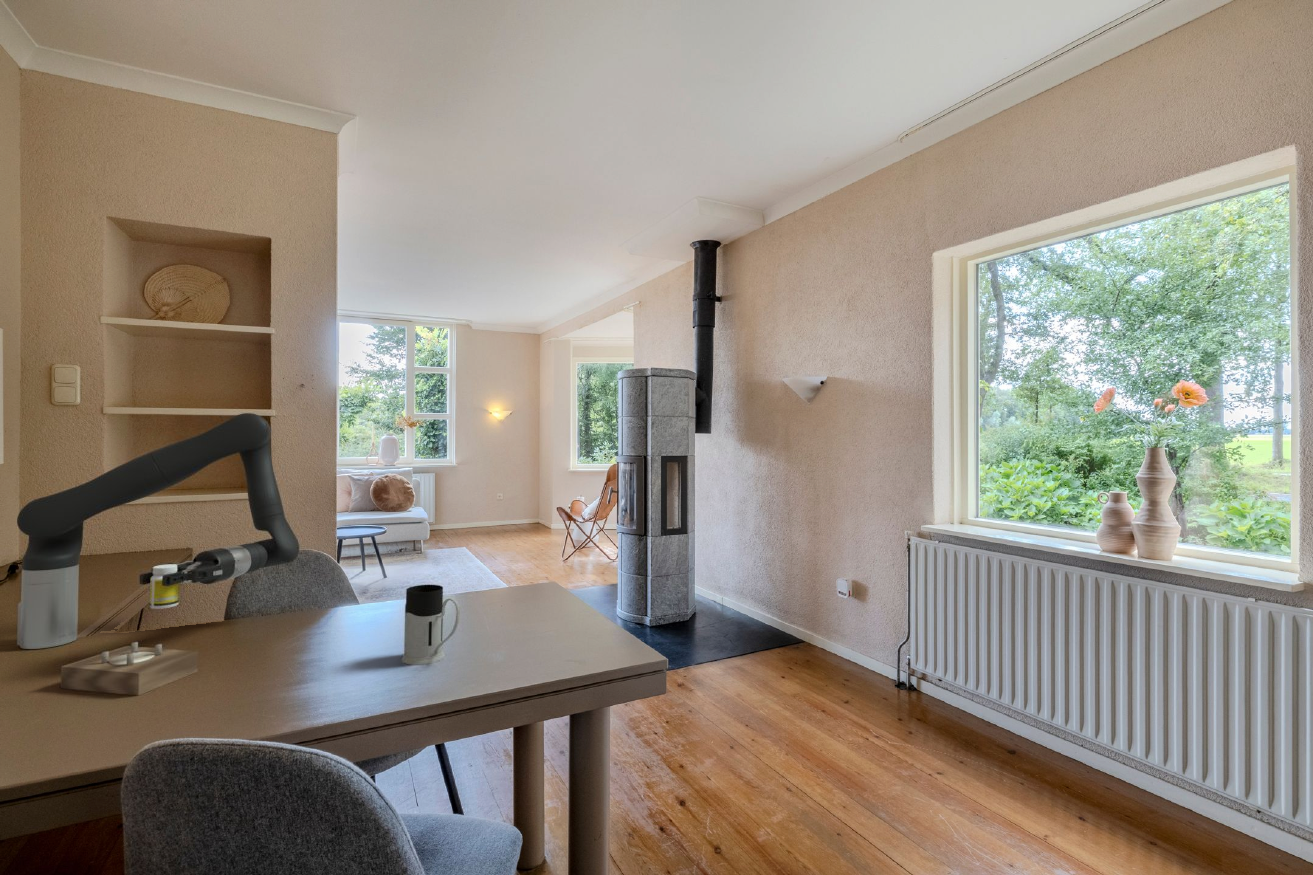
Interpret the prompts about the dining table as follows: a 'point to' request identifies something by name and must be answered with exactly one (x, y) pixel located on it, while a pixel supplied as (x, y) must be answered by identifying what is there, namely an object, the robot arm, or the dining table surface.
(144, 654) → the seat block
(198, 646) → the dining table surface
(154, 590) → the supplement bottle
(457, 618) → the glass holder
